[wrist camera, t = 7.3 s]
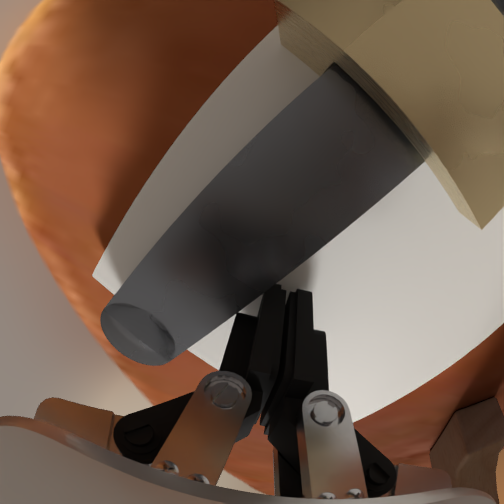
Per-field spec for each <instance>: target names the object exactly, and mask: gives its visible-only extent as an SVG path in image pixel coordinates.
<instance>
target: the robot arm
mask: <svg viewBox="0 0 504 504" xmlns="http://www.w3.org/2000/svg"><path fill="white" fill-rule="evenodd" d="M285 302H286V290H283V289H281V285H280V284H275V285H274V286H272V287H271V288H270V289H269V290H267V291H266V292H265V293H263V296H262V300H261V304H260V307H259V311H258V315H257V317H256V316H252V315H247V314H243V313H239V312H238V313H236V316H235V319H234V323H233V326H232V329H231V333H230V336H229V339H228V343H227V346H226V349H225V353H224V356H223V359H222V363H221V366H220V369H219V371H216V372H212V373H210V374H208V375H206V376H205V377H204V378H203V379H202V380H201V381H200V383H199V385H198V386H197V388H196V390H195V391H194V392H191V393H189V394H186V395H183V396H181V397H178V398H175V399H173V400H170V401H167V402H164V403H161V404H158V405H155V406H153V407H150V408H147V409H144V410H140V411H137V412H134V413H131V414H128V415H126V416H120V415H115V414H114V413H113V412H112V411H107V410H103V409H98V408H94V407H90V406H86V405H82V404H78V403H75V402H71V401H67V400H64V399H60V398H54V397H52V398H48V399H45V400H44V401H43V402H41V403H40V405H39V406H38V408H37V411H36V414H35V417H34V419H32V418H27V417H21V416H2V417H0V504H496V502H495V500H494V499H493V498H492V497H491V496H490V495H489V494H487V493H485V492H483V491H480V490H477V489H473V488H462V487H458V488H452V482H451V478H450V476H449V474H448V473H447V472H446V471H445V470H442V469H436V468H428V467H420V466H414V465H408V464H402V463H399V464H397V465H393V464H392V463H391V461H390V460H389V459H388V458H386V457H385V456H384V455H383V454H382V453H381V452H380V451H379V450H377V449H376V448H375V447H374V446H373V445H372V444H371V443H370V442H369V441H367V440H366V439H365V438H364V437H363V436H362V435H361V434H360V433H359V432H358V431H357V430H355V429H354V426H353V422H352V418H351V413H350V409H349V407H348V405H347V403H346V402H345V400H344V399H343V398H342V397H340V396H339V395H338V394H336V393H333V392H331V391H329V380H328V359H327V342H326V333H325V331H320V330H315V329H314V322H313V295H312V292H310V291H306V290H302V289H296V292H292V291H290V293H289V296H288V299H287V302H286V305H285ZM260 414H261V418H260V425H262V426H265V430H264V434H266V435H268V440H269V441H270V443H271V444H272V445H273V446H274V447H273V464H274V488H275V496H271V495H264V494H256V493H250V492H244V491H238V490H233V489H228V488H223V487H219V486H216V484H217V481H218V479H219V477H220V475H221V473H222V471H223V468H224V466H225V464H226V461H227V459H228V457H229V454H230V452H231V450H232V447H233V445H234V443H235V442H237V441H239V440H241V439H243V438H245V437H247V436H248V435H249V433H250V431H251V429H252V427H253V425H254V424H256V422H257V420H258V418H259V416H260Z"/></svg>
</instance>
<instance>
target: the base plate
mask: <svg viewBox="0 0 504 504" xmlns="http://www.w3.org/2000/svg"><path fill="white" fill-rule="evenodd" d="M334 64H336V63H334ZM334 64H333V65H334ZM333 65H332V66H333ZM332 66H331V67H332ZM331 67H330V68H331ZM330 68H329V69H330ZM319 77H320V76H319V75H318V74H317V73H315V72H314V71H313V70H312V69H311V68H310V67H308V66H307V65H306V64H305V63H304V62H302V61H301V60H300V59H299V58H298V57H296V56H295V55H294V54H293V53H291V52H290V51H289V50H287V49H286V48H285V47H284V46H282V45H281V42H280V35H279V28H278V25H277V26H276V27H275V28H274V29H273V30H272V31H271V32H270V33H269V34H268V35H267V36H266V37H265V38H264V39H263V40H262V41H261V42H260V43H259V44H258V45H257V46H256V47H255V48H254V49H253V50H252V51H251V52H250V53H249V54H248V55H247V56H246V57H245V58H244V59H243V60H242V61H241V62H240V63H239V64H238V65H237V67H236V68H235V69H234V70H233V71H232V72H231V73H230V74H229V75H228V76H227V78H226V79H225V80H224V81H223V82H222V83H221V84H220V86H219V87H218V88H217V89H216V90H215V91H214V92H213V94H212V95H211V96H210V97H209V98H208V100H207V101H206V102H205V103H204V104H203V106H202V107H201V108H200V109H199V111H198V112H197V113H196V114H195V116H194V117H193V118H192V119H191V121H190V122H189V123H188V124H187V126H186V127H185V128H184V130H183V131H182V132H181V134H180V135H179V136H178V138H177V139H176V140H175V142H174V143H173V144H172V146H171V147H170V148H169V150H168V151H167V153H166V154H165V155H164V157H163V158H162V160H161V161H160V163H159V164H158V165H157V167H156V168H155V170H154V171H153V173H152V174H151V176H150V177H149V179H148V180H147V182H146V183H145V185H144V186H143V188H142V189H141V191H140V192H139V194H138V196H137V197H136V199H135V200H134V202H133V203H132V205H131V207H130V208H129V210H128V212H127V213H126V215H125V217H124V218H123V220H122V222H121V223H120V225H119V227H118V228H117V230H116V232H115V234H114V235H113V237H112V239H111V241H110V243H109V244H108V246H107V248H106V250H105V252H104V253H103V255H102V257H101V259H100V261H99V263H98V265H97V267H96V269H95V271H94V273H93V275H92V276H93V277H94V278H95V279H96V280H97V281H99V282H100V283H101V284H102V285H103V286H104V287H106V288H107V289H108V290H109V291H110V292H112V293H113V294H114V295H115V294H116V292H117V291H118V290H119V289H120V287H121V286H122V285H123V283H124V282H125V281H126V280H127V278H128V277H129V276H130V274H131V273H132V272H133V271H134V269H135V268H136V267H137V266H138V264H139V263H140V262H141V261H142V260H143V258H144V257H145V256H146V255H147V253H148V252H149V251H150V250H151V249H152V247H153V246H154V245H155V244H156V243H157V241H158V240H159V239H160V238H161V237H162V235H163V234H164V233H165V232H166V231H167V230H168V228H169V227H170V226H171V225H172V224H173V223H174V222H175V220H176V219H177V218H178V217H179V216H180V215H181V214H182V212H183V211H184V210H185V209H186V208H187V207H188V206H189V205H190V203H191V202H192V201H193V200H194V199H195V198H196V197H197V196H198V195H199V194H200V192H201V191H202V190H203V189H204V188H205V187H206V186H207V185H208V184H209V183H210V182H211V181H212V180H213V178H214V177H215V176H216V175H217V174H218V173H219V172H220V171H221V170H222V169H223V168H224V167H225V166H226V165H227V164H228V163H229V162H230V161H231V160H232V159H233V158H234V157H235V156H236V155H237V154H238V153H239V152H240V151H241V150H242V149H243V148H244V147H245V146H246V145H247V144H248V143H249V142H250V141H251V140H252V139H253V138H254V137H255V136H256V135H257V134H258V133H259V132H260V131H261V130H262V129H263V128H264V127H265V126H266V125H267V124H268V123H269V122H270V121H271V120H272V119H273V118H274V117H276V116H277V115H278V114H279V113H280V112H281V111H282V110H283V109H284V108H285V107H286V106H287V105H288V104H290V103H291V102H292V101H293V100H294V99H295V98H296V97H297V96H298V95H300V94H301V93H302V92H303V91H304V90H305V89H306V88H307V87H309V86H310V85H311V84H312V83H313V82H314V81H315V80H317V79H318V78H319ZM276 284H280V285H281V289H283V290H286V302H287V299H288V296H289V293H290V291H292V292H296V289H302V290H306V291H310V292H312V295H313V322H314V329H315V330H320V331H325V333H326V342H327V359H328V380H329V391H331V392H333V393H336V394H338V395H339V396H340V397H342V398H343V399H344V400H345V402H346V403H347V405H348V407H349V409H350V413H351V418H352V422H355V421H357V420H359V419H362V418H364V417H366V416H368V415H370V414H372V413H374V412H376V411H377V410H379V409H381V408H383V407H385V406H387V405H389V404H391V403H392V402H394V401H396V400H398V399H399V398H401V397H403V396H405V395H406V394H408V393H410V392H411V391H413V390H415V389H416V388H418V387H420V386H421V385H423V384H424V383H426V382H427V381H429V380H431V379H432V378H434V377H435V376H437V375H438V374H440V373H441V372H442V371H444V370H445V369H447V368H448V367H450V366H451V365H452V364H454V363H455V362H457V361H458V360H459V359H461V358H462V357H463V356H465V355H466V354H467V353H468V352H470V351H471V350H472V349H474V348H475V347H476V346H477V345H479V344H480V343H481V342H482V341H483V340H485V339H486V338H487V337H488V336H489V335H491V334H492V333H493V332H494V331H495V330H496V329H497V328H499V327H500V326H501V325H502V324H503V323H504V207H503V208H502V209H501V210H500V211H499V212H498V213H497V214H496V215H495V216H494V218H493V219H492V220H491V221H490V222H489V223H488V224H487V225H486V226H485V227H484V228H483V229H482V230H481V229H480V228H478V227H477V226H476V225H475V224H473V223H472V222H471V221H470V220H468V219H467V218H466V217H465V216H463V215H462V214H461V213H459V212H458V210H457V208H456V207H455V205H454V203H453V202H452V200H451V199H450V197H449V195H448V194H447V192H446V191H445V189H444V188H443V186H442V185H441V183H440V182H439V180H438V179H437V177H436V176H435V174H434V173H433V172H432V170H431V169H430V167H429V166H428V165H427V163H426V162H424V163H423V164H422V165H420V166H419V167H418V168H417V169H416V170H415V171H414V172H412V173H411V174H410V175H409V176H408V177H407V178H406V179H404V180H403V181H402V182H401V183H400V184H399V185H397V186H396V187H395V188H394V189H393V190H392V191H390V192H389V193H388V194H387V195H386V196H385V197H383V198H382V199H381V200H380V201H379V202H377V203H376V204H375V205H374V206H373V207H371V208H370V209H369V210H368V211H367V212H365V213H364V214H363V215H362V216H361V217H359V218H358V219H357V220H356V221H355V222H353V223H352V224H351V225H350V226H348V227H347V228H346V229H345V230H344V231H342V232H341V233H340V234H339V235H337V236H336V237H335V238H334V239H332V240H331V241H330V242H329V243H327V244H326V245H325V246H324V247H322V248H321V249H320V250H319V251H317V252H316V253H315V254H314V255H312V256H311V257H310V258H309V259H307V260H306V261H305V262H303V263H302V264H301V265H300V266H298V267H297V268H296V269H295V270H293V271H292V272H291V273H289V274H288V275H287V276H285V277H284V278H283V279H282V280H280V281H279V282H278V283H276ZM262 296H263V294H262V295H261V296H259V297H258V298H257V299H255V300H254V301H253V302H251V303H250V304H249V305H247V306H246V307H245V308H243V309H242V310H241V311H239V313H243V314H247V315H252V316H256V317H257V315H258V311H259V307H260V304H261V300H262ZM286 302H285V305H286ZM235 316H236V314H235V315H234V316H232V317H231V318H230V319H228V320H227V321H226V322H224V323H223V324H221V325H220V326H219V327H217V328H216V329H215V330H213V331H212V332H210V333H209V334H208V335H206V336H205V337H203V338H202V339H201V340H199V341H198V342H196V343H195V344H194V345H192V346H191V347H189V348H188V349H187V350H189V351H190V352H192V353H193V354H195V355H196V356H198V357H199V358H201V359H202V360H204V361H205V362H207V363H208V364H210V365H211V366H213V367H215V368H216V369H218V370H219V369H220V366H221V363H222V359H223V356H224V353H225V349H226V346H227V343H228V339H229V336H230V333H231V329H232V326H233V323H234V319H235Z"/></svg>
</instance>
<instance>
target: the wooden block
mask: <svg viewBox="0 0 504 504" xmlns="http://www.w3.org/2000/svg"><path fill="white" fill-rule="evenodd" d="M503 446H504V416H503V413H502V411H501V408H500V406H499V404H498V401H497V399H496V398H495V397H492V398H490V399H488V400H485V401H483V402H480V403H478V404H475V405H472V406H470V407H467V408H464V409H461V410H458V411H456V412H455V413H454V415H453V416H452V418H451V420H450V421H449V423H448V425H447V426H446V428H445V430H444V431H443V433H442V435H441V436H440V438H439V439H438V441H437V442H436V444H435V445H434V447H433V448H432V450H431V451H430V454H429V455H430V460H431V465H432V468H436V469H442V470H445V471H446V472H447V473H448V474H449V476H450V478H451V482H452V488H458V487H462V488H473V489H477V490H480V491H483V492H485V493H487V494H489V495H490V496H491V497H492V498H493V499H494V500H495V502H496V504H499V499H498V494H497V486H496V473H495V471H496V466H497V461H498V455H499V452H500V451H501V449H502V448H503Z"/></svg>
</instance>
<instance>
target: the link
mask: <svg viewBox="0 0 504 504" xmlns="http://www.w3.org/2000/svg"><path fill="white" fill-rule="evenodd" d="M491 1H492V2H493V3H494V5H495V6H496V7H497V8H498V10H499V11H500V12H501V14H502V15H503V16H504V0H491ZM424 162H425V161H424V159H423V158H422V156H421V155H420V154H419V153H418V151H417V150H416V149H415V147H414V146H413V145H412V144H411V142H410V141H409V140H408V138H407V137H406V136H405V135H404V134H403V132H402V131H401V130H400V129H399V128H398V126H397V125H396V124H395V123H394V122H393V121H392V119H391V118H390V117H389V116H388V115H387V114H386V113H385V112H384V110H383V109H382V108H381V107H380V106H379V105H378V104H377V103H376V102H375V101H374V100H373V99H372V98H371V96H370V95H369V94H368V93H367V92H366V91H365V90H364V89H363V88H362V87H361V86H360V85H359V84H358V83H357V82H356V81H355V80H354V79H353V78H351V77H350V76H349V75H348V74H347V73H346V72H345V71H344V70H343V69H342V68H341V67H340V66H339V65H337V64H334V65H333V66H332V67H331V68H330V69H328V70H327V71H326V72H325V73H324V74H322V75H321V76H320V77H319V78H318V79H317V80H315V81H314V82H313V83H312V84H311V85H310V86H309V87H307V88H306V89H305V90H304V91H303V92H302V93H301V94H300V95H298V96H297V97H296V98H295V99H294V100H293V101H292V102H291V103H290V104H288V105H287V106H286V107H285V108H284V109H283V110H282V111H281V112H280V113H279V114H278V115H277V116H276V117H274V118H273V119H272V120H271V121H270V122H269V123H268V124H267V125H266V126H265V127H264V128H263V129H262V130H261V131H260V132H259V133H258V134H257V135H256V136H255V137H254V138H253V139H252V140H251V141H250V142H249V143H248V144H247V145H246V146H245V147H244V148H243V149H242V150H241V151H240V152H239V153H238V154H237V155H236V156H235V157H234V158H233V159H232V160H231V161H230V162H229V163H228V164H227V165H226V166H225V167H224V168H223V169H222V170H221V171H220V172H219V173H218V174H217V175H216V176H215V177H214V178H213V180H212V181H211V182H210V183H209V184H208V185H207V186H206V187H205V188H204V189H203V190H202V191H201V192H200V194H199V195H198V196H197V197H196V198H195V199H194V200H193V201H192V202H191V203H190V205H189V206H188V207H187V208H186V209H185V210H184V211H183V212H182V214H181V215H180V216H179V217H178V218H177V219H176V220H175V222H174V223H173V224H172V225H171V226H170V227H169V228H168V230H167V231H166V232H165V233H164V234H163V235H162V237H161V238H160V239H159V240H158V241H157V243H156V244H155V245H154V246H153V247H152V249H151V250H150V251H149V252H148V253H147V255H146V256H145V257H144V258H143V260H142V261H141V262H140V263H139V264H138V266H137V267H136V268H135V269H134V271H133V272H132V273H131V274H130V276H129V277H128V278H127V280H126V281H125V282H124V283H123V285H122V286H121V287H120V289H119V290H118V291H117V292H116V294H115V295H114V296H113V298H112V299H111V300H110V302H109V303H108V304H107V306H106V307H105V308H104V310H103V311H102V314H101V327H102V330H103V332H104V334H105V336H106V337H107V339H108V340H109V342H110V343H111V344H112V345H113V346H114V347H115V348H116V349H117V350H118V351H119V352H121V353H122V354H123V355H125V356H126V357H128V358H130V359H132V360H134V361H136V362H139V363H142V364H146V365H153V366H156V365H163V364H166V363H168V362H169V361H171V360H172V359H174V358H175V357H177V356H178V355H179V354H181V353H182V352H184V351H185V350H187V349H188V348H189V347H191V346H192V345H194V344H195V343H196V342H198V341H199V340H201V339H202V338H203V337H205V336H206V335H208V334H209V333H210V332H212V331H213V330H215V329H216V328H217V327H219V326H220V325H221V324H223V323H224V322H226V321H227V320H228V319H230V318H231V317H232V316H234V315H235V314H236V313H238V312H239V311H241V310H242V309H243V308H245V307H246V306H247V305H249V304H250V303H251V302H253V301H254V300H255V299H257V298H258V297H259V296H261V295H262V294H263V293H265V292H266V291H267V290H269V289H270V288H271V287H272V286H274V285H275V284H276V283H278V282H279V281H280V280H282V279H283V278H284V277H285V276H287V275H288V274H289V273H291V272H292V271H293V270H295V269H296V268H297V267H298V266H300V265H301V264H302V263H303V262H305V261H306V260H307V259H309V258H310V257H311V256H312V255H314V254H315V253H316V252H317V251H319V250H320V249H321V248H322V247H324V246H325V245H326V244H327V243H329V242H330V241H331V240H332V239H334V238H335V237H336V236H337V235H339V234H340V233H341V232H342V231H344V230H345V229H346V228H347V227H348V226H350V225H351V224H352V223H353V222H355V221H356V220H357V219H358V218H359V217H361V216H362V215H363V214H364V213H365V212H367V211H368V210H369V209H370V208H371V207H373V206H374V205H375V204H376V203H377V202H379V201H380V200H381V199H382V198H383V197H385V196H386V195H387V194H388V193H389V192H390V191H392V190H393V189H394V188H395V187H396V186H397V185H399V184H400V183H401V182H402V181H403V180H404V179H406V178H407V177H408V176H409V175H410V174H411V173H412V172H414V171H415V170H416V169H417V168H418V167H419V166H420V165H422V164H423V163H424Z"/></svg>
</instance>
